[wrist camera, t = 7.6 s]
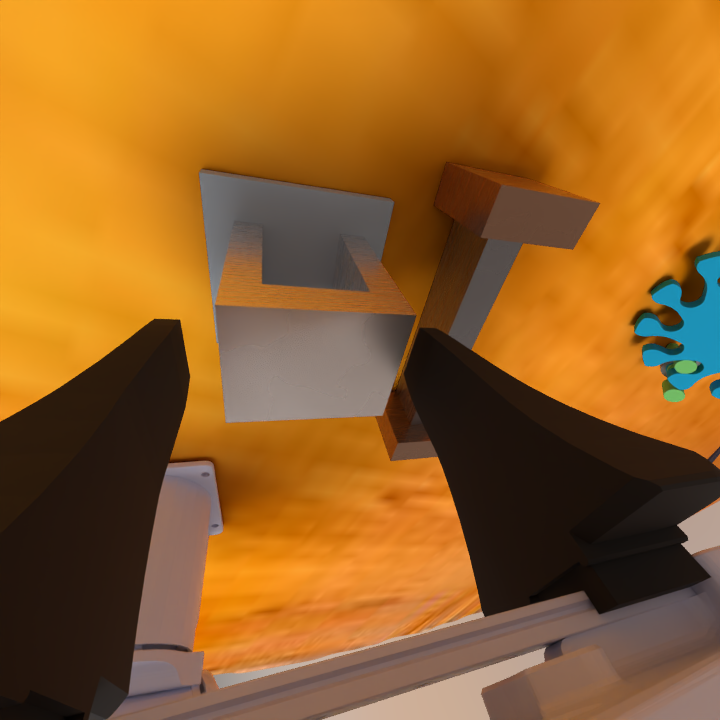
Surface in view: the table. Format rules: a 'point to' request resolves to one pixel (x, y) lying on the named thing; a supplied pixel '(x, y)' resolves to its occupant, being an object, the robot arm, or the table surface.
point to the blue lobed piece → (686, 333)
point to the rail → (479, 268)
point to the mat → (288, 226)
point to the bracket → (308, 336)
